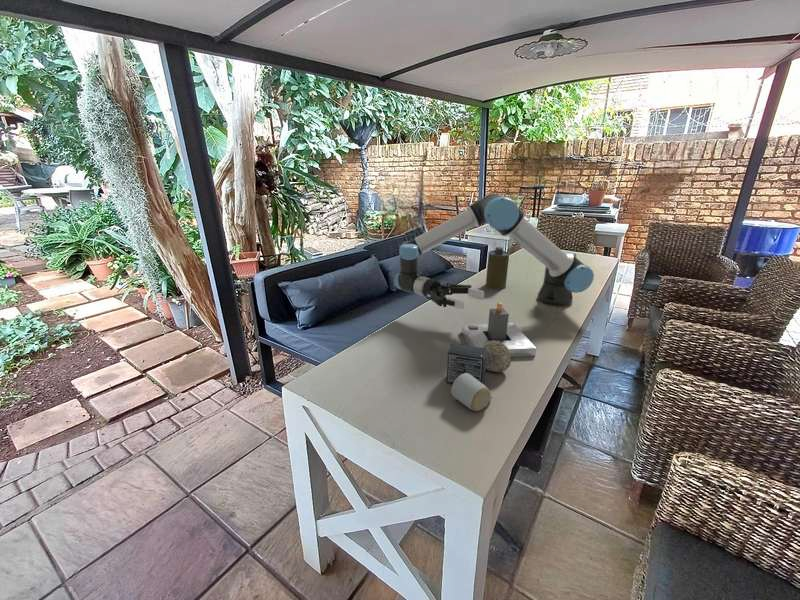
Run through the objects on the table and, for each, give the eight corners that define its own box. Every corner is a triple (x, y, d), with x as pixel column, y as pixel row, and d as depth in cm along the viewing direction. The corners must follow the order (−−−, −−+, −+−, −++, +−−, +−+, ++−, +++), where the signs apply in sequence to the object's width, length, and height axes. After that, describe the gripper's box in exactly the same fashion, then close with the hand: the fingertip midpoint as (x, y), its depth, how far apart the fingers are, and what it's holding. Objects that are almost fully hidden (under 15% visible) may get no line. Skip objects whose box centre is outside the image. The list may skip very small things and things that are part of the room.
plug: (500, 338, 134) (504, 300, 128) (505, 345, 129) (509, 305, 124) (486, 339, 133) (490, 301, 128) (491, 346, 129) (495, 306, 123)
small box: (484, 378, 111) (487, 347, 107) (482, 390, 105) (485, 358, 101) (450, 371, 114) (451, 341, 110) (445, 383, 108) (447, 352, 104)
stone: (483, 360, 120) (485, 333, 116) (511, 371, 114) (515, 342, 111) (473, 368, 115) (476, 340, 112) (502, 379, 110) (506, 350, 106)
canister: (508, 289, 184) (512, 250, 177) (487, 289, 185) (491, 250, 177) (503, 282, 195) (507, 245, 187) (483, 282, 195) (486, 245, 188)
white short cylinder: (471, 417, 94) (474, 392, 91) (449, 401, 100) (451, 377, 97) (499, 403, 100) (502, 378, 97) (476, 388, 106) (479, 365, 103)
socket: (512, 329, 141) (513, 321, 140) (535, 355, 123) (536, 346, 121) (461, 331, 140) (462, 323, 138) (476, 358, 121) (477, 349, 120)
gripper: (445, 288, 156) (490, 300, 142) (406, 305, 139) (453, 320, 125) (446, 271, 153) (492, 281, 139) (406, 286, 136) (454, 300, 122)
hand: (473, 300), depth 132 cm, fingers open, 13 cm apart
